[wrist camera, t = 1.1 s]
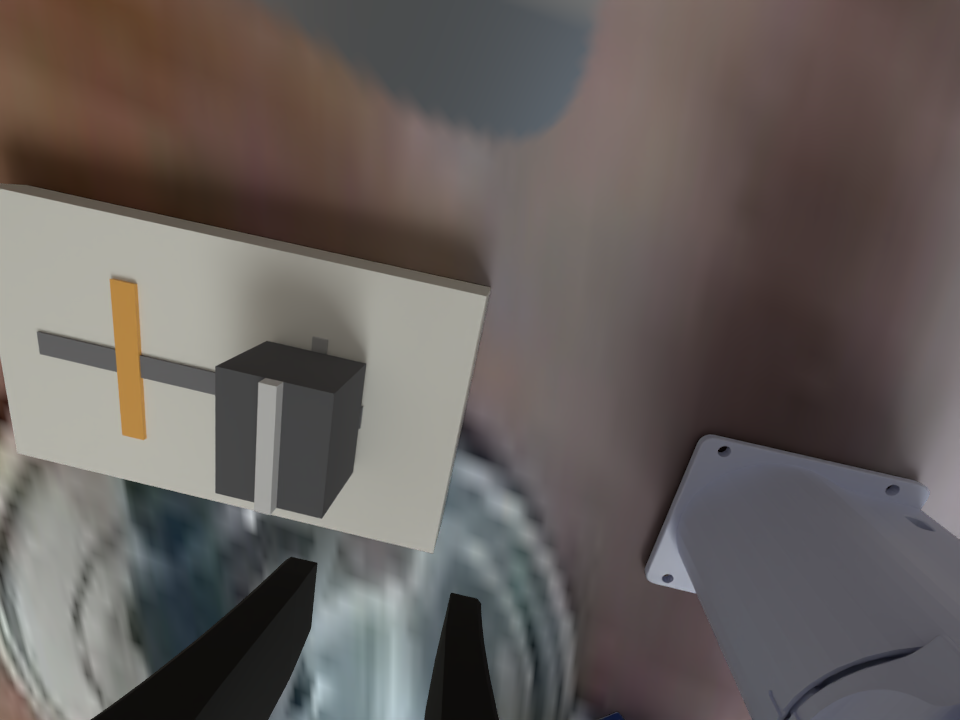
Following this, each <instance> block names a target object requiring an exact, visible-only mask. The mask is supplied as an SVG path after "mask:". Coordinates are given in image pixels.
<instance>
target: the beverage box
mask: <svg viewBox="0 0 960 720" xmlns="http://www.w3.org/2000/svg"><path fill="white" fill-rule="evenodd" d="M598 720H625V719H624V718H623V717H622V716H621V715H620V714H619V713H618V712H615V713H613V714H610V715H608V716H606V717H603V718H601V719H598Z"/></svg>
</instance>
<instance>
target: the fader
mask: <svg viewBox="0 0 960 720" xmlns="http://www.w3.org/2000/svg"><path fill="white" fill-rule="evenodd" d="M365 372H366V363H362V362H357V361H353V360H349V359H344V358H340V357H336V356H331V355H327V354H323V353H318V352H314V351H309V350H305V349H301V348H296V347H292V346H288V345H283V344H279V343H274V342H270V341H266V342H263V343H261V344H259V345H257V346H255V347H253V348H251V349H249V350H247V351H245V352H243V353H241V354H239V355H237V356H235V357H233V358H231V359H229V360H227V361H225V362H223V363H221V364H219V365H217V366H215V493H217V494H221V495H225V496H229V497H233V498H238V499H242V500H246V501H250V502H254V511H255V512H260V513H264V514H268V515H271V514H272V512H273V511H274V510H275V509H276V508H279V509H283V510H287V511H291V512H296V513H300V514H304V515H308V516H312V517H316V518H320V519H322V518H323V516H324V515H325V513H326V512H327V510H328V509H329V508H330V506H331V505H332V503H333V502H334V500H335V499H336V497H337V496H338V494H339V493H340V491H341V490H342V488H343V487H344V485H345V484H346V482H347V481H348V479H349V478H350V476H351V475H352V473H353V470H354V461H355V453H356V445H357V437H358V429H359V421H360V413H361V404H362V396H363V388H364V380H365Z"/></svg>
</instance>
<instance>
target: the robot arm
mask: <svg viewBox="0 0 960 720" xmlns="http://www.w3.org/2000/svg"><path fill="white" fill-rule="evenodd" d="M723 446H727V449H726V450H725V451H723V452H718V450H719V448H720V447H723ZM890 485H892V486H891V487H890V488H889V489H887V490H886V488H887V487H888V486H890ZM929 494H930V492H929V489H928V488H927V487H926V486H925V485H923V484H922V483H920V482H918V481H915V480H910V479H906V478H902V477H897V476H893V475H888V474H884V473H880V472H875V471H871V470H866V469H862V468H858V467H853V466H849V465H845V464H840V463H836V462H831V461H827V460H823V459H818V458H814V457H810V456H805V455H801V454H796V453H792V452H788V451H783V450H779V449H774V448H770V447H766V446H761V445H757V444H753V443H748V442H744V441H739V440H735V439H731V438H726V437H722V436H717V435H711V434H709V435H705V436H703V437H702V438H700V440H699V441H698V443H697V445H696V447H695V450H694V452H693V455H692V457H691V459H690V462H689V464H688V467H687V469H686V471H685V474H684V476H683V478H682V481H681V483H680V486H679V488H678V490H677V493H676V495H675V498H674V500H673V502H672V505H671V507H670V509H669V512H668V514H667V517H666V519H665V521H664V524H663V526H662V528H661V531H660V533H659V536H658V538H657V540H656V543H655V545H654V548H653V550H652V552H651V555H650V557H649V559H648V562H647V564H646V567H645V575H646V577H647V580H648V581H649V582H652V583H654V584H658V585H663V586H667V587H671V588H675V589H679V590H683V591H687V592H692V593H696V594H697V596H698V598H699V600H700V603H701V605H702V607H703V609H704V612H705V614H706V616H707V618H708V621H709V623H710V625H711V627H712V630H713V632H714V634H715V637H716V639H717V641H718V643H719V646H720V648H721V650H722V652H723V655H724V657H725V659H726V661H727V664H728V666H729V668H730V671H731V673H732V675H733V677H734V680H735V682H736V684H737V686H738V689H739V691H740V693H741V695H742V698H743V700H744V702H745V704H746V707H747V709H748V711H749V714H750V716H751V718H752V720H960V539H958V538H957V537H956V536H954V535H953V534H952V533H950V532H949V531H948V530H947V529H945V528H944V527H943V526H941V525H940V524H939V523H937V522H936V521H935V520H933V519H932V518H931V517H929V516H928V515H927V514H925V513H924V512H923V511H921V508H922V507H923V505H924V504H925V502H926V501H927V499H928V497H929ZM316 572H317V563H316V562H311V561H307V560H302V559H298V558H293V557H290V558H289V559H287V560H285V561H284V562H283V563H282V564H281V565H280V566H279V567H278V568H277V569H276V570H275V571H274V572H273V573H272V574H271V575H270V576H269V577H268V578H267V579H265V580H264V581H263V582H262V583H261V584H260V585H259V586H258V587H257V588H256V589H255V590H253V591H252V592H251V593H250V594H249V595H248V596H247V597H246V598H245V599H243V600H242V601H241V602H240V603H239V604H238V605H237V606H236V607H234V608H233V609H232V610H231V611H230V612H229V613H227V614H226V615H225V616H224V617H223V618H222V619H220V620H219V621H218V622H217V623H216V624H215V625H213V626H212V627H211V628H210V629H209V630H208V631H206V632H205V633H204V634H203V635H202V636H200V637H199V638H198V639H197V640H196V641H194V642H193V643H192V644H191V645H189V646H188V647H187V648H186V649H184V650H183V651H182V652H181V653H179V654H178V655H177V656H175V657H174V658H173V659H172V660H170V661H169V662H168V663H167V664H165V665H164V666H163V667H162V668H160V669H159V670H158V671H156V672H155V673H154V674H153V675H151V676H150V677H149V678H147V679H146V680H145V681H144V682H142V683H141V684H140V685H138V686H137V687H135V688H134V689H133V690H131V691H130V692H129V693H127V694H126V695H125V696H123V697H122V698H121V699H119V700H118V701H116V702H115V703H114V704H112V705H111V706H110V707H108V708H107V709H105V710H104V711H102V712H101V713H100V714H98V715H97V716H95V717H94V718H92V719H91V720H268V719H269V717H270V715H271V713H272V711H273V709H274V707H275V706H276V704H277V702H278V700H279V698H280V696H281V694H282V692H283V691H284V689H285V687H286V685H287V683H288V681H289V679H290V677H291V674H292V672H293V670H294V667H295V665H296V663H297V661H298V658H299V656H300V653H301V651H302V649H303V646H304V644H305V641H306V639H307V637H308V634H309V632H310V629H311V623H312V613H313V602H314V592H315V582H316ZM666 574H670V575H669V576H664V575H666ZM425 720H499V718H498V714H497V709H496V704H495V700H494V695H493V690H492V685H491V681H490V675H489V670H488V664H487V658H486V651H485V645H484V637H483V629H482V617H481V603H480V602H479V600H478V599H476V598H472V597H468V596H463V595H459V594H454V593H451V594H450V599H449V603H448V607H447V611H446V616H445V620H444V624H443V628H442V632H441V637H440V641H439V645H438V649H437V654H436V658H435V664H434V669H433V674H432V679H431V684H430V690H429V695H428V700H427V705H426V711H425Z"/></svg>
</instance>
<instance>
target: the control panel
mask: <svg viewBox="0 0 960 720" xmlns="http://www.w3.org/2000/svg"><path fill="white" fill-rule="evenodd" d="M490 291H491V287H486V286H482V285H477V284H473V283H468V282H464V281H459V280H455V279H450V278H446V277H441V276H436V275H432V274H427V273H423V272H418V271H414V270H409V269H405V268H400V267H396V266H391V265H387V264H382V263H378V262H373V261H369V260H364V259H360V258H355V257H350V256H346V255H341V254H337V253H332V252H328V251H323V250H319V249H314V248H310V247H305V246H301V245H296V244H292V243H287V242H283V241H278V240H274V239H269V238H264V237H260V236H255V235H251V234H246V233H242V232H237V231H233V230H228V229H224V228H219V227H215V226H210V225H206V224H201V223H197V222H192V221H188V220H183V219H178V218H174V217H169V216H165V215H160V214H156V213H151V212H147V211H142V210H138V209H133V208H129V207H124V206H120V205H115V204H111V203H106V202H102V201H97V200H92V199H88V198H83V197H79V196H74V195H70V194H65V193H61V192H56V191H52V190H47V189H43V188H38V187H34V186H29V185H18V184H0V357H1V363H2V369H3V374H4V380H5V386H6V392H7V397H8V403H9V409H10V414H11V420H12V426H13V432H14V437H15V443H16V449H17V453H19V454H23V455H27V456H31V457H35V458H39V459H44V460H48V461H52V462H56V463H60V464H64V465H68V466H72V467H77V468H81V469H85V470H89V471H93V472H97V473H101V474H106V475H110V476H114V477H118V478H122V479H126V480H130V481H134V482H139V483H143V484H147V485H151V486H155V487H159V488H163V489H168V490H172V491H176V492H180V493H184V494H188V495H192V496H196V497H201V498H205V499H209V500H213V501H217V502H221V503H225V504H230V505H234V506H238V507H242V508H246V509H250V510H254V502H250V501H246V500H242V499H238V498H233V497H229V496H225V495H221V494H217V493H215V366H217V365H219V364H221V363H223V362H225V361H227V360H229V359H231V358H233V357H235V356H237V355H239V354H241V353H243V352H245V351H247V350H249V349H251V348H253V347H255V346H257V345H259V344H261V343H263V342H266V341H270V342H274V343H279V344H283V345H288V346H292V347H296V348H301V349H305V350H309V351H314V352H318V353H323V354H327V355H331V356H336V357H340V358H344V359H349V360H353V361H357V362H362V363H366V372H365V380H364V388H363V396H362V404H361V413H360V421H359V429H358V437H357V445H356V453H355V461H354V470H353V473H352V475H351V476H350V478H349V479H348V481H347V482H346V484H345V485H344V487H343V488H342V490H341V491H340V493H339V494H338V496H337V497H336V499H335V500H334V502H333V503H332V505H331V506H330V508H329V509H328V510H327V512H326V513H325V515H324V516H323V518H322V519H320V518H316V517H312V516H308V515H304V514H300V513H296V512H291V511H287V510H283V509H279V508H276V509H275V510H274V511H273V512H272V514H271V515H275V516H279V517H283V518H287V519H292V520H296V521H300V522H304V523H308V524H312V525H316V526H320V527H325V528H329V529H333V530H337V531H341V532H345V533H349V534H353V535H358V536H362V537H366V538H370V539H374V540H378V541H382V542H387V543H391V544H395V545H399V546H403V547H407V548H411V549H415V550H420V551H424V552H428V553H432V554H433V552H434V548H435V545H436V541H437V538H438V534H439V530H440V527H441V523H442V518H443V513H444V509H445V504H446V499H447V494H448V490H449V485H450V480H451V476H452V471H453V466H454V461H455V457H456V452H457V447H458V442H459V438H460V433H461V428H462V424H463V419H464V414H465V409H466V405H467V400H468V395H469V390H470V386H471V381H472V376H473V371H474V367H475V362H476V357H477V353H478V348H479V343H480V338H481V334H482V329H483V324H484V319H485V315H486V310H487V305H488V301H489V296H490Z"/></svg>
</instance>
